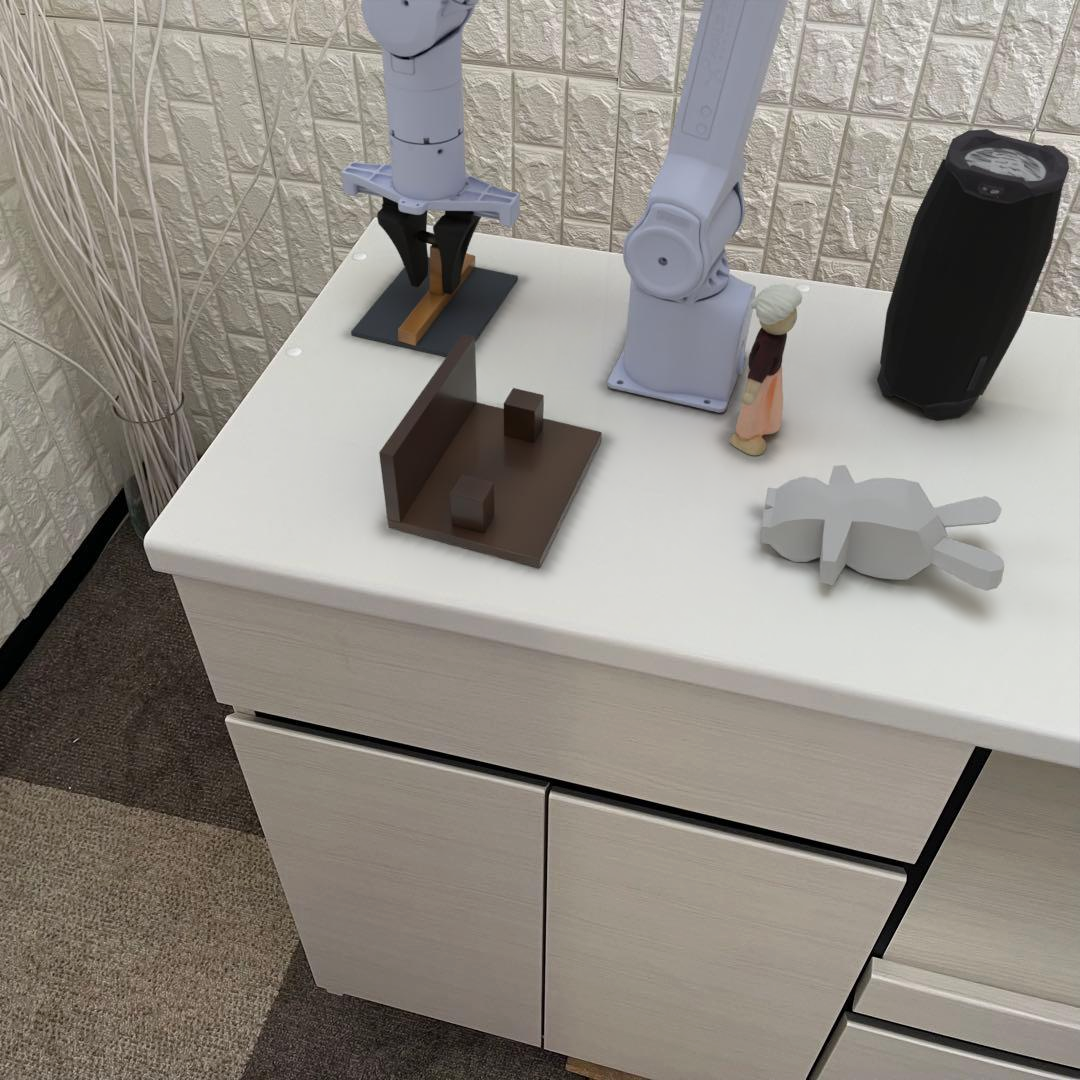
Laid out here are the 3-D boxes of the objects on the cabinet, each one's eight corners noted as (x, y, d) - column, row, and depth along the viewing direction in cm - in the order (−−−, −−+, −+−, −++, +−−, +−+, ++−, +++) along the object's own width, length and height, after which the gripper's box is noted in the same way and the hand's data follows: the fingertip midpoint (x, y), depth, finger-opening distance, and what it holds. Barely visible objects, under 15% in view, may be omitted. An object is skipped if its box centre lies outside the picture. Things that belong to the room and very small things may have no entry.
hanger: (475, 267, 95) (478, 201, 90) (415, 346, 86) (415, 278, 82) (447, 259, 95) (448, 193, 91) (385, 337, 87) (383, 269, 82)
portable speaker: (859, 355, 87) (925, 122, 73) (974, 361, 87) (1062, 128, 73) (876, 420, 81) (952, 180, 67) (999, 427, 81) (1100, 187, 67)
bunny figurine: (773, 443, 73) (1006, 464, 69) (769, 498, 76) (991, 521, 73) (756, 537, 67) (1012, 566, 63) (753, 593, 70) (995, 623, 66)
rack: (601, 439, 79) (607, 365, 74) (539, 568, 70) (541, 493, 65) (465, 407, 82) (462, 333, 77) (387, 527, 72) (378, 452, 67)
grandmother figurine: (776, 468, 77) (811, 321, 68) (723, 460, 78) (751, 313, 69) (780, 403, 83) (813, 259, 74) (731, 397, 83) (758, 253, 74)
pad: (518, 279, 94) (518, 275, 94) (462, 360, 86) (462, 356, 86) (415, 258, 97) (415, 254, 96) (351, 335, 88) (350, 331, 88)
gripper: (315, 133, 79) (336, 291, 89) (496, 167, 76) (498, 327, 85) (357, 96, 84) (373, 250, 93) (530, 126, 80) (528, 282, 90)
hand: (435, 284), depth 90 cm, fingers closed on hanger, 2 cm apart
